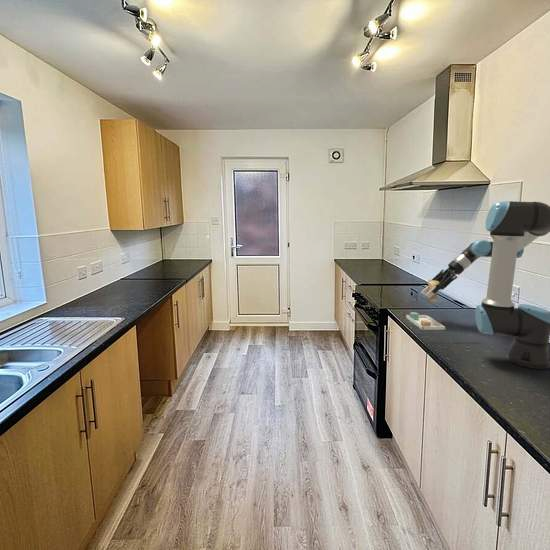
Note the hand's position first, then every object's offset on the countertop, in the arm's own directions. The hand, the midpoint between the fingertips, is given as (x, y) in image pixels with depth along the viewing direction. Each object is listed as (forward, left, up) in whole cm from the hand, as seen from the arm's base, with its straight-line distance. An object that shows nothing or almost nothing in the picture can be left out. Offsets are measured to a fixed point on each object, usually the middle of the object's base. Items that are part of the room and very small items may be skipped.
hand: (425, 295), depth 195 cm
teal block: (+7, +2, -15) cm, 17 cm away
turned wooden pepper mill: (0, -4, -3) cm, 5 cm away
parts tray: (0, -1, -16) cm, 17 cm away
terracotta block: (-8, +2, -15) cm, 17 cm away
